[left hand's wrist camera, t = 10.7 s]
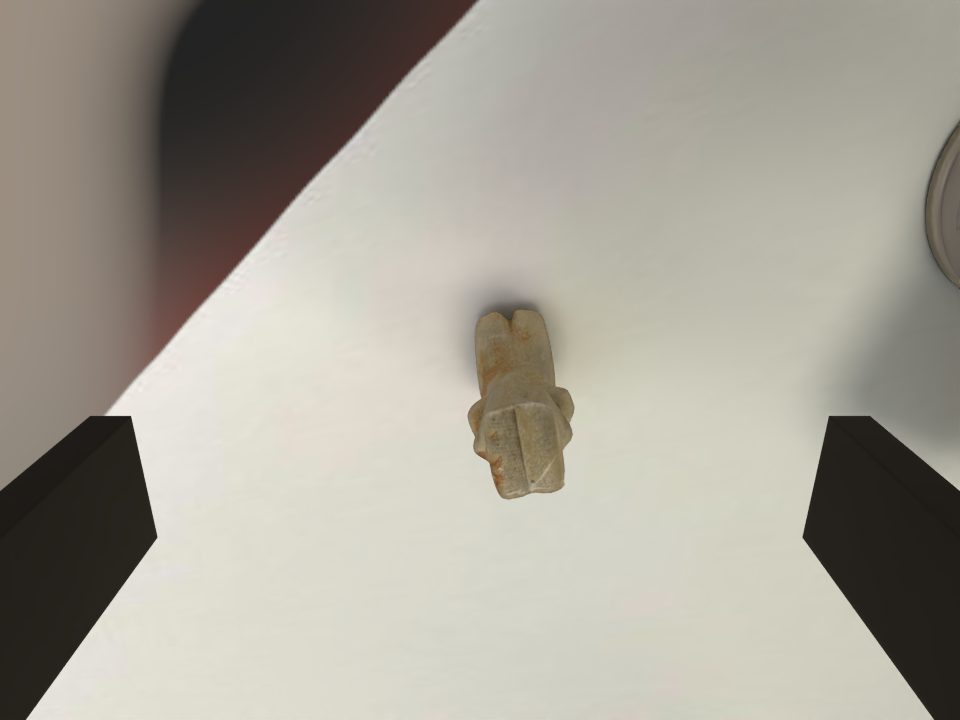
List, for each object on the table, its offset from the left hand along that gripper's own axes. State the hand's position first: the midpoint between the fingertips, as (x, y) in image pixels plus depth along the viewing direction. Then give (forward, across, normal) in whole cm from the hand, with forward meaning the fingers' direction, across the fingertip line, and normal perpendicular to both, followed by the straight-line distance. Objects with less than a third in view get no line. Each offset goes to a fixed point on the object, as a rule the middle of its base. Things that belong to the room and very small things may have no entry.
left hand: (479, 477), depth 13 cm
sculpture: (+31, +2, -10) cm, 32 cm away
